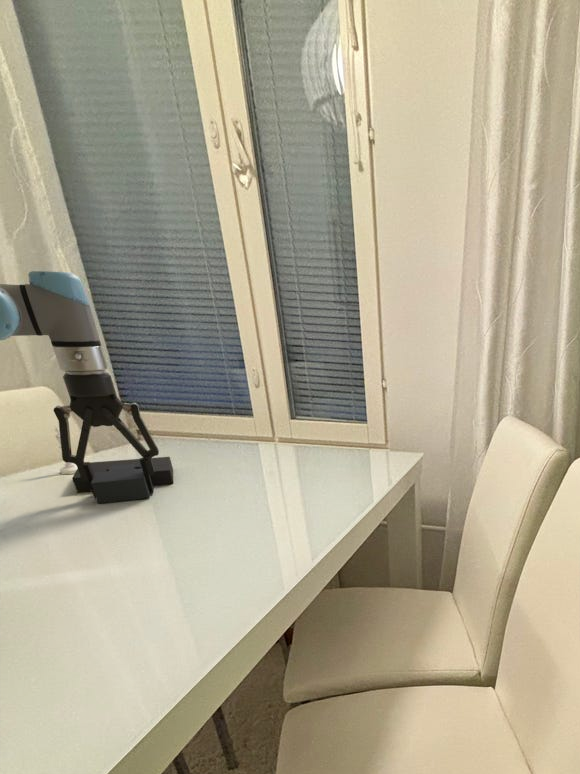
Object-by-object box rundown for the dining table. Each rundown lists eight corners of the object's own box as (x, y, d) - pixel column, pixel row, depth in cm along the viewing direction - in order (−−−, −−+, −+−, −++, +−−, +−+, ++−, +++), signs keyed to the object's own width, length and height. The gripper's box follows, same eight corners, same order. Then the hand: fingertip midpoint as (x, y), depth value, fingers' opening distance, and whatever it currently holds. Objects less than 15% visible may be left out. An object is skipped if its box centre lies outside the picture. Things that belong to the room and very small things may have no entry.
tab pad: (97, 503, 107) (90, 483, 105) (104, 485, 118) (97, 466, 116) (149, 498, 111) (143, 478, 109) (151, 481, 121) (145, 462, 119)
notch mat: (77, 492, 114) (71, 478, 112) (85, 476, 124) (80, 463, 123) (173, 483, 120) (169, 470, 119) (173, 469, 131) (169, 456, 130)
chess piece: (66, 475, 125) (49, 429, 120) (56, 472, 127) (39, 426, 122) (89, 471, 128) (74, 426, 123) (79, 468, 131) (63, 423, 125)
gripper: (9, 376, 94) (59, 505, 105) (151, 372, 102) (183, 492, 114) (18, 372, 99) (65, 494, 111) (152, 369, 108) (183, 483, 119)
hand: (125, 493), depth 112 cm, fingers closed on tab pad, 9 cm apart
